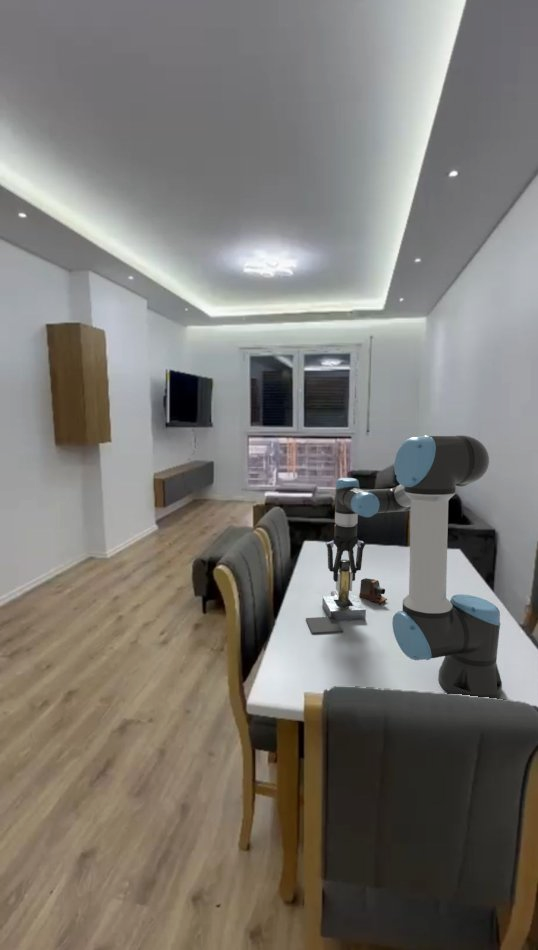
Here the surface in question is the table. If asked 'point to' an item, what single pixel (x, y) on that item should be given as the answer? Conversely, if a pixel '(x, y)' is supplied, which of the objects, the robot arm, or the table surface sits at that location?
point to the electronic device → (372, 591)
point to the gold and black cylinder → (344, 581)
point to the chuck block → (343, 608)
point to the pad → (323, 625)
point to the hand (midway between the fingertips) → (343, 589)
